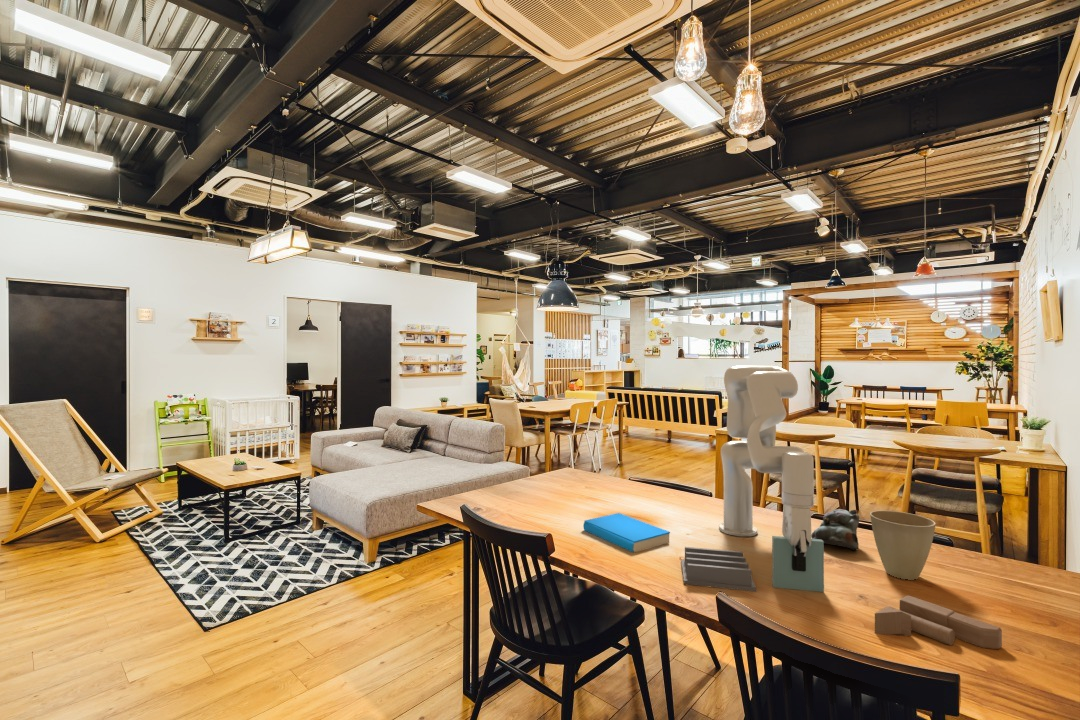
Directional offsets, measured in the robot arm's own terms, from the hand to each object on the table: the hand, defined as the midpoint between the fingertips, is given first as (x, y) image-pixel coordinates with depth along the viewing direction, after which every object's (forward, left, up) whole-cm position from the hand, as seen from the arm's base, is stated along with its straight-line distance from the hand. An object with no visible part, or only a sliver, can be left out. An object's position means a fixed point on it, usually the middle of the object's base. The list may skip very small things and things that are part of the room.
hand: (797, 568), depth 131 cm
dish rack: (-3, -20, -5) cm, 21 cm away
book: (-30, -47, -6) cm, 55 cm away
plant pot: (-16, +31, -5) cm, 35 cm away
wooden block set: (+19, +22, -6) cm, 30 cm away
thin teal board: (0, 0, -5) cm, 5 cm away
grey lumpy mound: (-37, +20, -6) cm, 42 cm away
